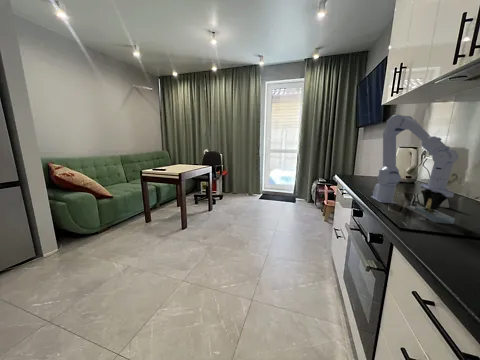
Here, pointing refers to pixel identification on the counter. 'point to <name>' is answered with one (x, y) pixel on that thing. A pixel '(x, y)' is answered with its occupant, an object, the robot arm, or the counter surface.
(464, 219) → the counter surface
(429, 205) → the yellow upright block
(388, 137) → the robot arm
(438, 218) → the pale blue flat bar
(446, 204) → the flask
